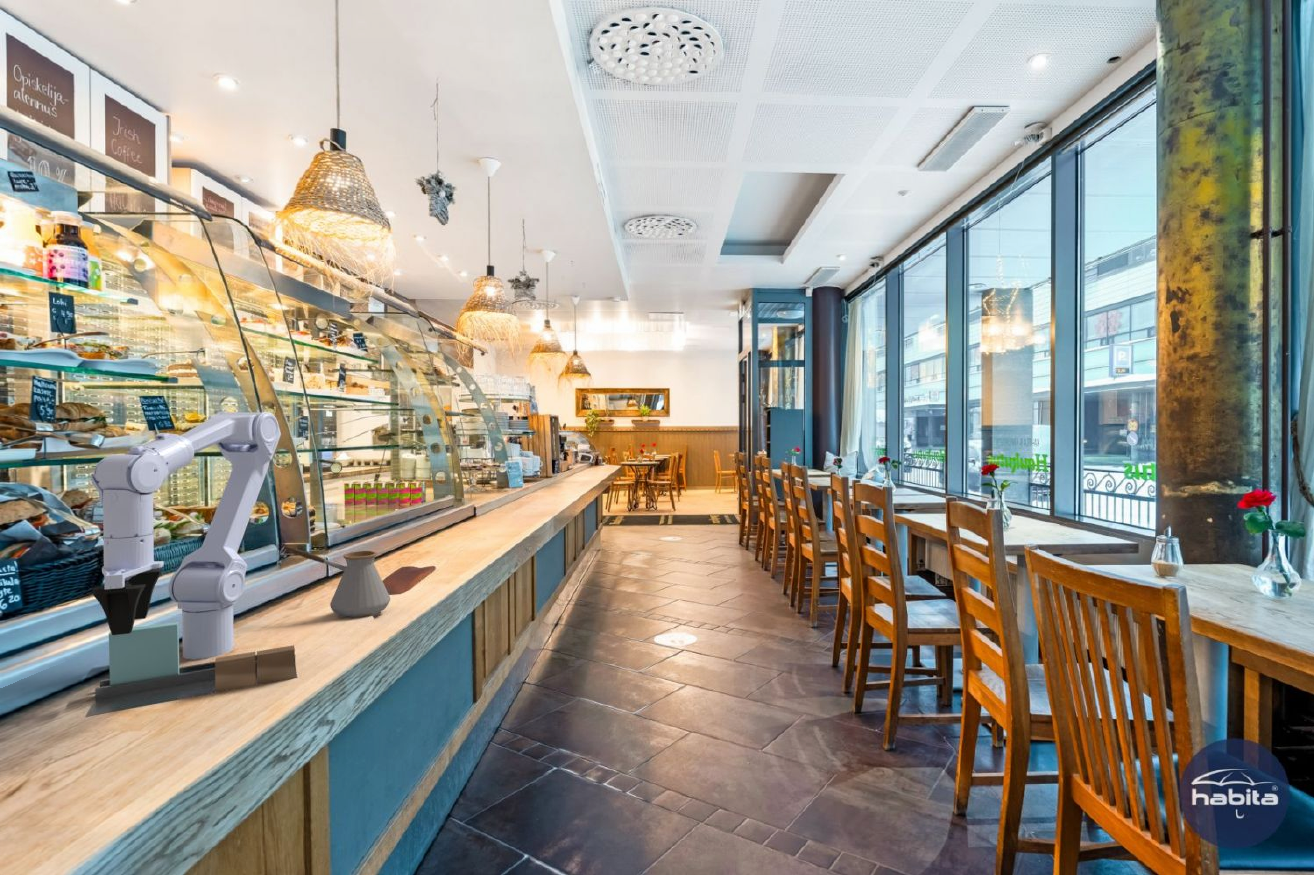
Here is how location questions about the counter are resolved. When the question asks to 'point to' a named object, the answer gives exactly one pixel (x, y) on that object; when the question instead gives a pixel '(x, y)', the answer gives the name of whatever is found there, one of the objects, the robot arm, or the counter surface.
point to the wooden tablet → (405, 578)
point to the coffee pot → (355, 584)
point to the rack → (157, 689)
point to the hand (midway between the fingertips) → (129, 626)
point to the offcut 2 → (275, 664)
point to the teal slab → (144, 653)
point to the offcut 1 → (235, 671)
